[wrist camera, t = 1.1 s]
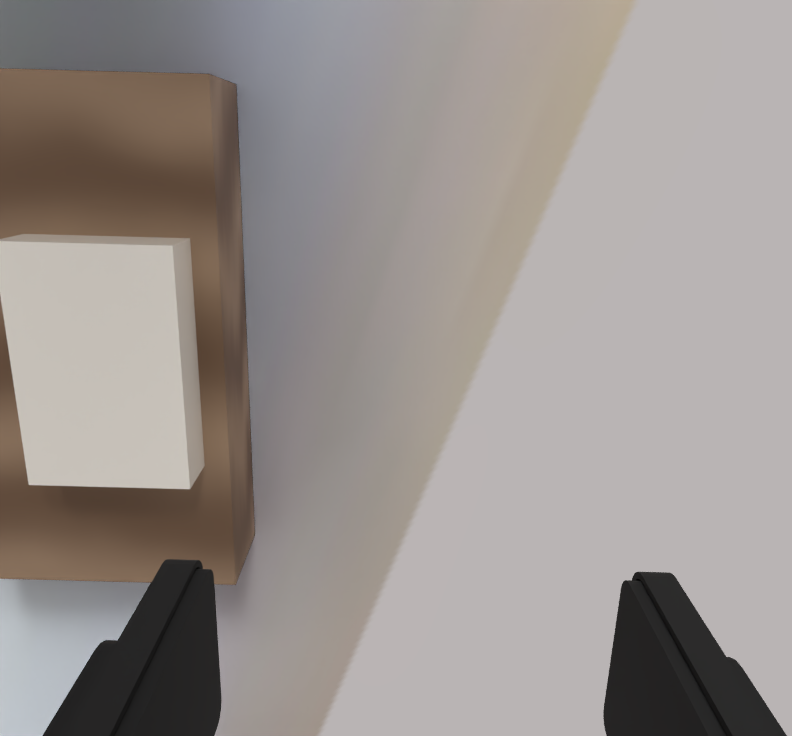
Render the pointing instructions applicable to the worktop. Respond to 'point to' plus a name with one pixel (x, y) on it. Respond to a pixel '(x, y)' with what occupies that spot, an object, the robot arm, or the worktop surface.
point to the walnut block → (213, 301)
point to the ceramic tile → (104, 359)
